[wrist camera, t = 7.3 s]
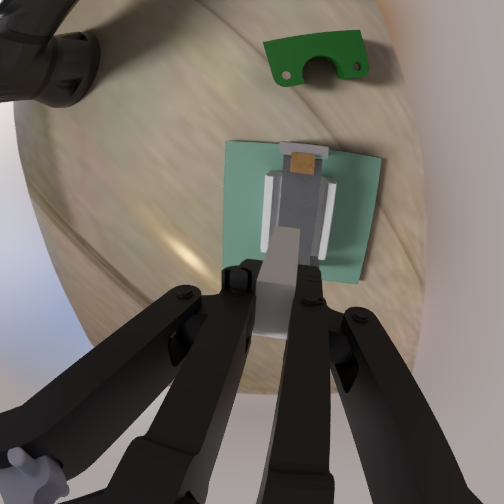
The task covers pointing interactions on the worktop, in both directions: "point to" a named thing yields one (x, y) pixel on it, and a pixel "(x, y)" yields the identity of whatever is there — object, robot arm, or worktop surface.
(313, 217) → the grey flat bar
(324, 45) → the clamp
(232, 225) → the board
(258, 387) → the worktop surface
